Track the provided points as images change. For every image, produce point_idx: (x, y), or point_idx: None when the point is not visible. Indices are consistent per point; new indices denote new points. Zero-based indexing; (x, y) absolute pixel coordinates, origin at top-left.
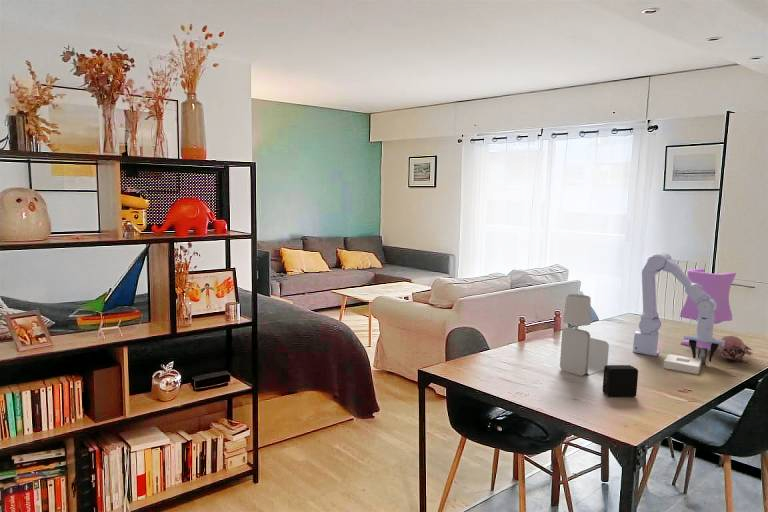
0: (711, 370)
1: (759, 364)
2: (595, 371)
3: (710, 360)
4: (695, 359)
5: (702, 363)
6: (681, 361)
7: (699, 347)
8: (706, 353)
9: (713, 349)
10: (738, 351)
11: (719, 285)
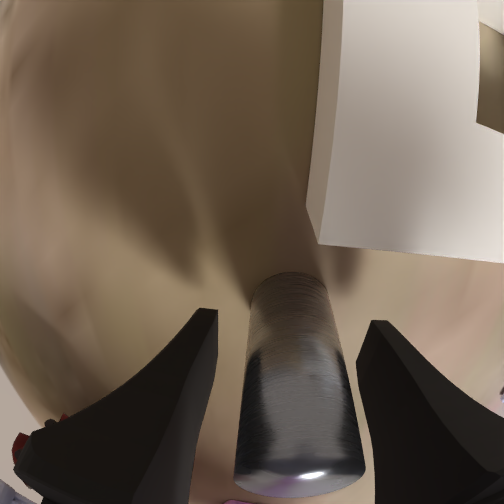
0: (188, 109)
1: (35, 415)
2: None
3: (198, 315)
4: (408, 186)
5: (287, 283)
6: None
7: (360, 469)
8: (246, 399)
9: (102, 431)
10: (22, 448)
11: None
